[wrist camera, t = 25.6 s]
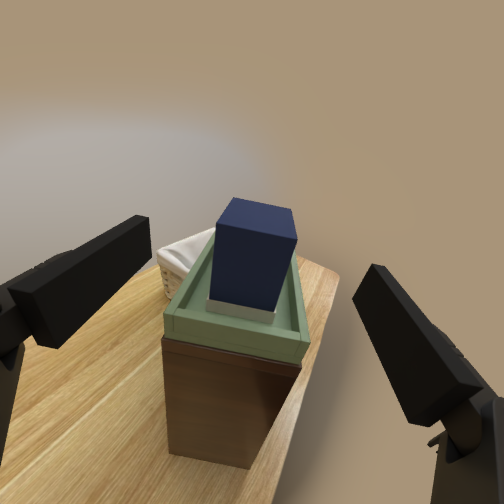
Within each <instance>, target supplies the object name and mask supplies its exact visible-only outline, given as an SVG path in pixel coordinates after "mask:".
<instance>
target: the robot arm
mask: <svg viewBox="0 0 504 504" xmlns="http://www.w3.org/2000/svg"><path fill="white" fill-rule="evenodd" d="M151 258H152V251H151V239H150V225H149V217H144V216H140V215H135V216H133V217H131V218H129V219H127V220H126V221H124V222H122V223H120V224H119V225H117V226H115V227H113V228H112V229H110V230H108V231H106V232H105V233H103V234H101V235H99V236H97V237H96V238H94V239H92V240H90V241H89V242H87V243H85V244H83V245H82V246H80V247H78V248H76V249H74V250H70V251H67V252H64V253H60V254H57V255H55V256H53V257H52V258H50V259H48V260H46V261H45V262H44V263H40V264H39V265H37V266H35V267H34V269H32V268H31V269H29V270H28V271H26V272H24V273H22V274H20V275H18V276H17V277H15V278H13V279H11V280H9V281H7V282H6V283H4V284H2V285H0V466H1V461H2V456H3V452H4V447H5V442H6V438H7V433H8V428H9V423H10V419H11V414H12V409H13V404H14V400H15V395H16V390H17V385H18V381H19V376H20V371H21V366H22V362H23V357H24V352H25V345H24V343H23V341H25V340H26V339H27V338H28V337H29V336H31V335H32V336H33V337H34V339H35V341H36V343H37V345H40V346H45V347H49V348H54V349H59V348H60V347H61V346H62V345H63V344H64V343H65V342H66V341H67V340H68V339H69V338H70V337H71V336H72V335H73V334H74V333H75V332H76V331H77V330H78V329H79V328H80V327H81V326H82V325H83V324H84V323H85V322H86V321H87V320H88V319H89V318H90V317H92V316H93V315H94V314H95V313H96V312H97V311H98V310H99V309H100V308H101V307H102V306H103V305H104V304H105V303H106V302H107V301H108V300H109V299H110V298H111V297H112V296H113V295H114V294H115V293H116V292H117V291H118V290H119V289H120V288H121V287H122V286H123V285H124V284H125V283H126V282H127V281H128V280H129V279H130V278H131V277H132V276H133V275H134V274H135V273H136V272H137V271H138V270H140V269H141V267H143V266H144V265H145V264H146V263H147V262H148V261H149V260H150V259H151ZM352 300H353V302H354V304H355V307H356V309H357V311H358V313H359V315H360V318H361V320H362V322H363V324H364V326H365V329H366V331H367V333H368V335H369V337H370V339H371V342H372V344H373V346H374V348H375V350H376V353H377V354H378V357H379V359H380V361H381V363H382V366H383V368H384V370H385V372H386V374H387V377H388V379H389V381H390V383H391V386H392V388H393V390H394V392H395V394H396V397H397V399H398V401H399V403H400V405H401V407H402V410H403V412H404V414H405V416H406V418H407V421H408V423H411V424H415V425H420V426H425V427H431V426H432V425H433V424H435V423H436V422H438V421H439V420H441V422H442V423H443V425H444V427H445V429H446V430H445V431H444V432H442V433H440V434H439V435H437V436H436V437H434V438H433V439H432V440H430V441H429V442H428V444H427V445H428V446H429V447H432V446H434V445H436V444H439V447H438V451H436V453H437V454H438V455H437V461H436V469H435V476H434V483H433V489H432V496H431V503H430V504H504V398H502V397H498V396H497V395H496V393H495V392H494V391H493V390H492V389H491V387H490V386H489V385H488V384H487V383H486V381H485V380H484V379H483V378H482V377H481V375H479V373H478V372H477V371H476V370H475V369H474V367H473V366H472V365H471V364H470V363H469V361H468V360H467V359H466V358H464V355H463V354H462V353H461V352H460V351H459V349H457V348H456V346H455V345H454V344H453V342H452V341H451V340H450V339H449V338H448V336H447V335H446V334H444V333H443V332H442V331H441V330H440V329H438V328H437V327H436V326H435V325H433V324H432V323H431V322H430V321H429V320H428V318H427V317H426V316H425V315H424V313H422V311H421V310H420V309H419V308H418V306H417V305H416V304H415V302H414V301H413V300H412V299H411V298H410V296H409V295H408V294H407V293H406V291H405V290H404V289H403V288H402V287H401V285H400V284H399V283H398V282H397V280H396V279H395V278H394V277H393V276H392V275H391V273H390V272H389V271H388V269H387V268H386V267H385V266H381V265H376V264H371V266H370V268H369V269H368V271H367V273H366V275H365V277H364V278H363V280H362V282H361V284H360V285H359V287H358V289H357V291H356V293H355V294H354V296H353V298H352Z"/></svg>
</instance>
